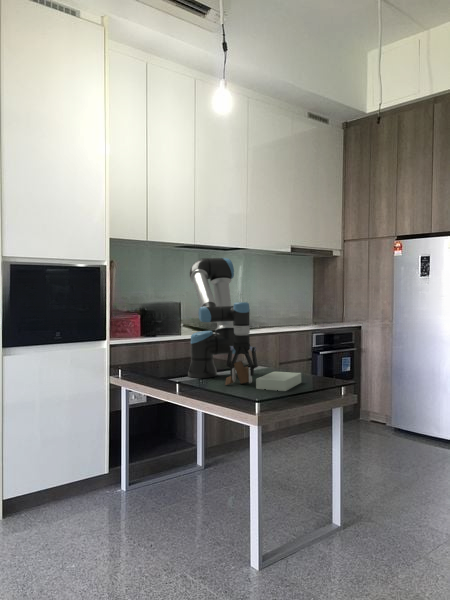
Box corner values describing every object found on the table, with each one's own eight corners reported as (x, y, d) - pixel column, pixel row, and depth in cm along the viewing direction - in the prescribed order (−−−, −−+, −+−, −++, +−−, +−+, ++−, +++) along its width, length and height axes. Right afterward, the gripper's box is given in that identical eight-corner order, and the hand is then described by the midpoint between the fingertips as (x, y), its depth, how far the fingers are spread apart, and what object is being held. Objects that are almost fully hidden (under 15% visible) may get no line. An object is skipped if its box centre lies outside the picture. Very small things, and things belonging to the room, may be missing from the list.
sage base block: (256, 389, 225) (256, 378, 225) (274, 381, 245) (273, 371, 245) (285, 392, 219) (285, 380, 219) (301, 383, 238) (301, 373, 238)
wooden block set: (245, 384, 249) (239, 364, 251) (259, 378, 244) (252, 358, 247) (226, 388, 233) (219, 368, 236) (240, 383, 229) (233, 362, 232)
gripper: (218, 334, 238) (219, 382, 239) (259, 335, 231) (260, 384, 231) (224, 333, 245) (225, 379, 246) (264, 334, 238) (265, 381, 238)
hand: (242, 381), depth 238 cm, fingers open, 8 cm apart
